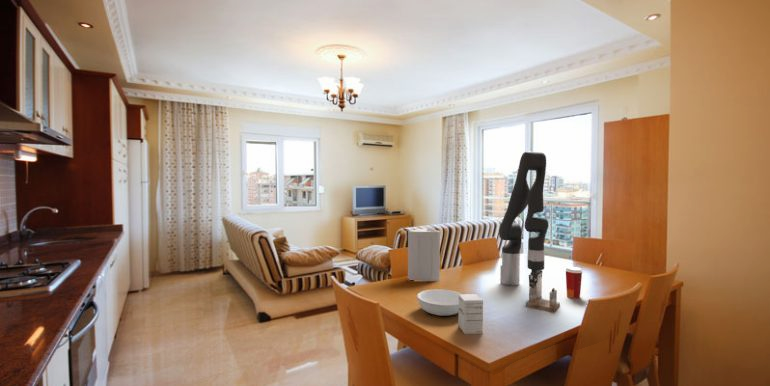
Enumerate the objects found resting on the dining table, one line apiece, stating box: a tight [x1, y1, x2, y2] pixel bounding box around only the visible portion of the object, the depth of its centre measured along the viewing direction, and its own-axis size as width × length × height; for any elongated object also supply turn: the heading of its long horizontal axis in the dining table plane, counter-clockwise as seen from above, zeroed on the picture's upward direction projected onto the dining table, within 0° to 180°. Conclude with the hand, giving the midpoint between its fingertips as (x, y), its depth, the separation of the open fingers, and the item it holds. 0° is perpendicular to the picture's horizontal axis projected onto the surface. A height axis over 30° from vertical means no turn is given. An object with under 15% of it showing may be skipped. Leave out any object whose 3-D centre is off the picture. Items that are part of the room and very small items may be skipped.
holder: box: [525, 285, 561, 313], centre depth 164 cm, size 12×10×9 cm
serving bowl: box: [417, 288, 463, 317], centre depth 156 cm, size 21×21×7 cm
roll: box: [528, 276, 543, 299], centre depth 176 cm, size 6×6×10 cm
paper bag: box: [407, 227, 441, 282], centre depth 210 cm, size 19×15×28 cm
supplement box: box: [457, 293, 484, 335], centre depth 137 cm, size 7×7×13 cm
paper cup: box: [564, 266, 584, 300], centre depth 177 cm, size 8×8×14 cm
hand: (535, 293), depth 176 cm, fingers closed on roll, 5 cm apart
